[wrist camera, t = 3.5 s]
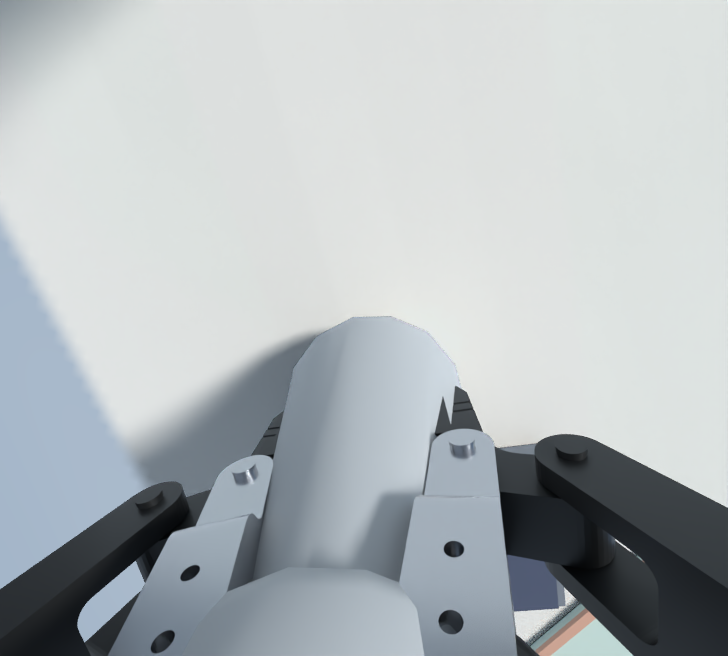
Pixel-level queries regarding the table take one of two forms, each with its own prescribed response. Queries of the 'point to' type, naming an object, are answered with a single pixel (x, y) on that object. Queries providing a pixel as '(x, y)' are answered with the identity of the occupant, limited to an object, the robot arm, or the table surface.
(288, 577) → the salt shaker
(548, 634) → the marked square
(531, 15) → the table surface
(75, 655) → the robot arm
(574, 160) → the table surface
